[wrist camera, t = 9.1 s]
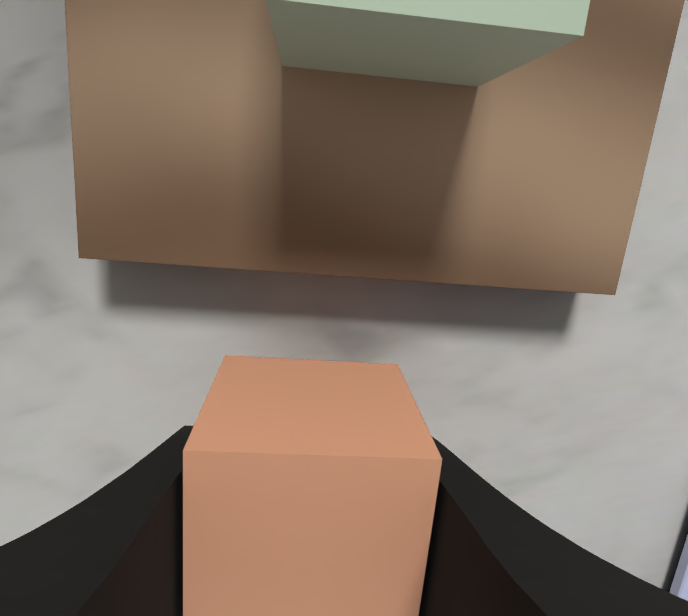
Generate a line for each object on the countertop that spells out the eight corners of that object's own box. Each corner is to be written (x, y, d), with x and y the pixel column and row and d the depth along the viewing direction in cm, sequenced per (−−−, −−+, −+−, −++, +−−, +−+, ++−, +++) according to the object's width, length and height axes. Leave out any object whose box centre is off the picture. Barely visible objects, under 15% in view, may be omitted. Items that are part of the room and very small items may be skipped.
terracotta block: (380, 509, 13) (412, 657, 9) (221, 506, 12) (183, 657, 8) (397, 364, 12) (442, 459, 8) (225, 355, 11) (182, 450, 7)
